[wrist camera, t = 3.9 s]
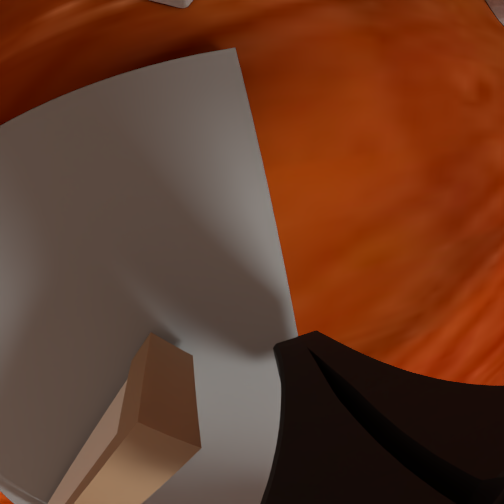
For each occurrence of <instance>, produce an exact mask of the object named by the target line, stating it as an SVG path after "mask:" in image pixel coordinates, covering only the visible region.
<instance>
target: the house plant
mask: <svg viewBox="0 0 504 504" xmlns="http://www.w3.org/2000/svg"><path fill="white" fill-rule="evenodd" d="M486 2H487V3H488V5H489V7H490V8H491V10H492V11H493V13H494V14H495V15H496V17H497V18H498V20H499V21H500V22H501V23H502V24H503V26H504V0H486Z"/></svg>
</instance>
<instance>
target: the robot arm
mask: <svg viewBox="0 0 504 504" xmlns="http://www.w3.org/2000/svg"><path fill="white" fill-rule="evenodd" d="M273 351H274V356H275V360H276V364H277V368H278V373H279V377H280V381H281V410H280V423H279V431H278V438H277V444H276V449H275V454H274V458H273V463H272V467H271V471H270V475H269V479H268V482H267V485H266V488H265V491H264V494H263V497H262V500H261V503H260V504H504V386H489V385H475V384H466V383H459V382H452V381H446V380H441V379H436V378H432V377H428V376H424V375H420V374H416V373H412V372H409V371H406V370H402V369H400V368H397V367H394V366H391V365H389V364H386V363H383V362H381V361H378V360H376V359H373V358H371V357H369V356H366V355H364V354H362V353H360V352H358V351H355V350H353V349H351V348H349V347H347V346H345V345H343V344H341V343H339V342H337V341H335V340H333V339H332V338H330V337H328V336H326V335H324V334H322V333H320V332H318V331H313V332H310V333H307V334H304V335H301V336H298V337H295V338H292V339H289V340H286V341H283V342H279V343H276V344H275V346H274V347H273Z"/></svg>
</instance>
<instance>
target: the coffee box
mask: <svg viewBox="0 0 504 504" xmlns="http://www.w3.org/2000/svg"><path fill="white" fill-rule="evenodd" d="M150 1H155V2H159V3H163V4H167V5H171V6H175V7H178V8H186V7H188V6H189V5H190V3H191V2H192V1H193V0H150Z"/></svg>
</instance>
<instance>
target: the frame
mask: <svg viewBox="0 0 504 504" xmlns="http://www.w3.org/2000/svg"><path fill="white" fill-rule="evenodd" d="M150 333H153V334H155V335H157V336H158V337H160V338H162V339H164V340H165V341H167V342H169V343H171V344H172V345H174V346H176V347H178V348H180V349H181V350H183V351H185V352H187V353H189V354H191V355H193V364H194V377H195V389H196V400H197V410H198V420H199V430H200V439H201V447H202V448H201V449H200V450H199V451H198V452H197V453H196V454H195V455H194V456H193V457H192V458H191V459H190V460H189V461H188V462H187V463H186V464H185V465H184V466H183V467H181V468H180V469H179V470H178V471H177V472H176V473H175V474H174V475H173V476H172V477H171V478H170V479H169V480H168V481H166V482H165V483H164V484H163V485H162V486H161V487H160V488H159V489H158V490H156V491H155V492H154V493H153V494H152V495H151V496H150V497H148V498H147V499H146V500H145V501H144V502H143V503H142V504H260V503H261V500H262V497H263V494H264V491H265V488H266V485H267V482H268V479H269V475H270V471H271V467H272V463H273V458H274V454H275V449H276V444H277V438H278V431H279V423H280V410H281V381H280V377H279V373H278V368H277V364H276V360H275V356H274V351H273V347H274V346H275V344H276V343H279V342H283V341H286V340H289V339H292V338H295V337H298V334H297V328H296V323H295V318H294V312H293V307H292V302H291V297H290V292H289V286H288V281H287V276H286V271H285V266H284V261H283V256H282V251H281V246H280V242H279V237H278V232H277V227H276V222H275V218H274V213H273V208H272V203H271V199H270V194H269V189H268V185H267V180H266V176H265V171H264V167H263V162H262V158H261V153H260V149H259V144H258V140H257V136H256V131H255V127H254V123H253V118H252V114H251V110H250V106H249V101H248V97H247V93H246V89H245V85H244V81H243V77H242V72H241V68H240V64H239V60H238V56H237V52H236V48H231V49H224V50H218V51H213V52H207V53H202V54H197V55H192V56H187V57H183V58H178V59H174V60H170V61H166V62H162V63H158V64H154V65H150V66H147V67H143V68H140V69H136V70H133V71H129V72H126V73H123V74H120V75H117V76H114V77H111V78H108V79H105V80H102V81H99V82H96V83H93V84H91V85H88V86H85V87H83V88H80V89H77V90H75V91H72V92H70V93H67V94H65V95H63V96H60V97H58V98H56V99H53V100H51V101H49V102H46V103H44V104H42V105H40V106H38V107H36V108H34V109H31V110H29V111H27V112H25V113H23V114H21V115H19V116H17V117H15V118H13V119H11V120H10V121H8V122H6V123H4V124H2V125H0V491H1V492H2V493H3V494H4V495H5V496H6V497H7V498H8V499H9V500H10V501H12V502H13V503H14V504H48V502H49V500H50V499H51V497H52V495H53V494H54V492H55V491H56V489H57V487H58V486H59V484H60V482H61V481H62V479H63V478H64V476H65V474H66V473H67V471H68V470H69V468H70V466H71V465H72V463H73V462H74V460H75V459H76V457H77V455H78V454H79V452H80V451H81V449H82V448H83V446H84V444H85V443H86V441H87V440H88V438H89V437H90V435H91V434H92V432H93V430H94V429H95V427H96V426H97V424H98V423H99V421H100V420H101V418H102V417H103V415H104V414H105V412H106V411H107V409H108V408H109V406H110V404H111V403H112V401H113V400H114V398H115V397H116V395H117V394H118V392H119V391H120V389H121V388H122V386H123V385H124V383H125V382H126V380H127V379H128V374H129V370H130V365H131V361H132V360H133V358H134V357H135V355H136V354H137V352H138V351H139V349H140V348H141V346H142V345H143V343H144V342H145V340H146V339H147V337H148V336H149V334H150Z"/></svg>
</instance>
